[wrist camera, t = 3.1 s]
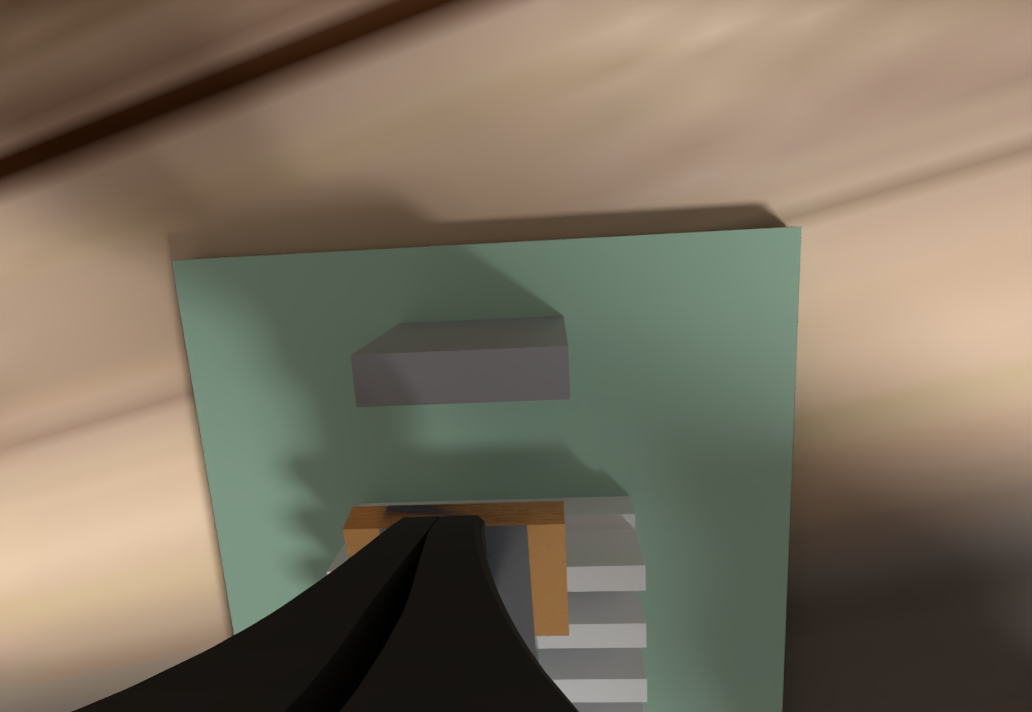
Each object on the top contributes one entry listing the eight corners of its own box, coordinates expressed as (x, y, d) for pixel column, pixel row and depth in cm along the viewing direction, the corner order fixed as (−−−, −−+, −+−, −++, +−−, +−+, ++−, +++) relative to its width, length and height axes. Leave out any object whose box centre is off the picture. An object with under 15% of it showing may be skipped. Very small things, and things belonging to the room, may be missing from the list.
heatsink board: (764, 889, 19) (835, 1108, 14) (290, 883, 20) (210, 1086, 15) (788, 226, 15) (898, 226, 10) (190, 259, 16) (38, 273, 11)
